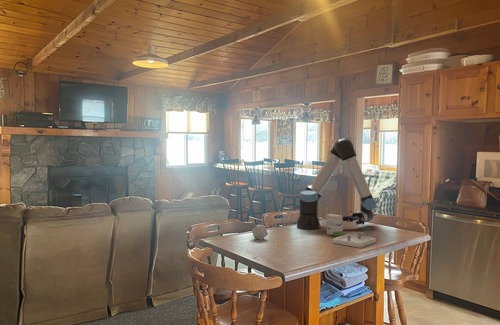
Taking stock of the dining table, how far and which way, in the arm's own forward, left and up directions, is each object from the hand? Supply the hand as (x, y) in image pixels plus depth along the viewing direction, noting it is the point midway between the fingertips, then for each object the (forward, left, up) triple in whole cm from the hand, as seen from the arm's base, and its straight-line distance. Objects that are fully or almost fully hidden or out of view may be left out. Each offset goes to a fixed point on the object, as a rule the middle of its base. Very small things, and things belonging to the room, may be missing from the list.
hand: (342, 221), depth 232 cm
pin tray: (+18, -19, -6) cm, 27 cm away
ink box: (0, -9, -7) cm, 11 cm away
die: (-24, -49, -7) cm, 55 cm away
